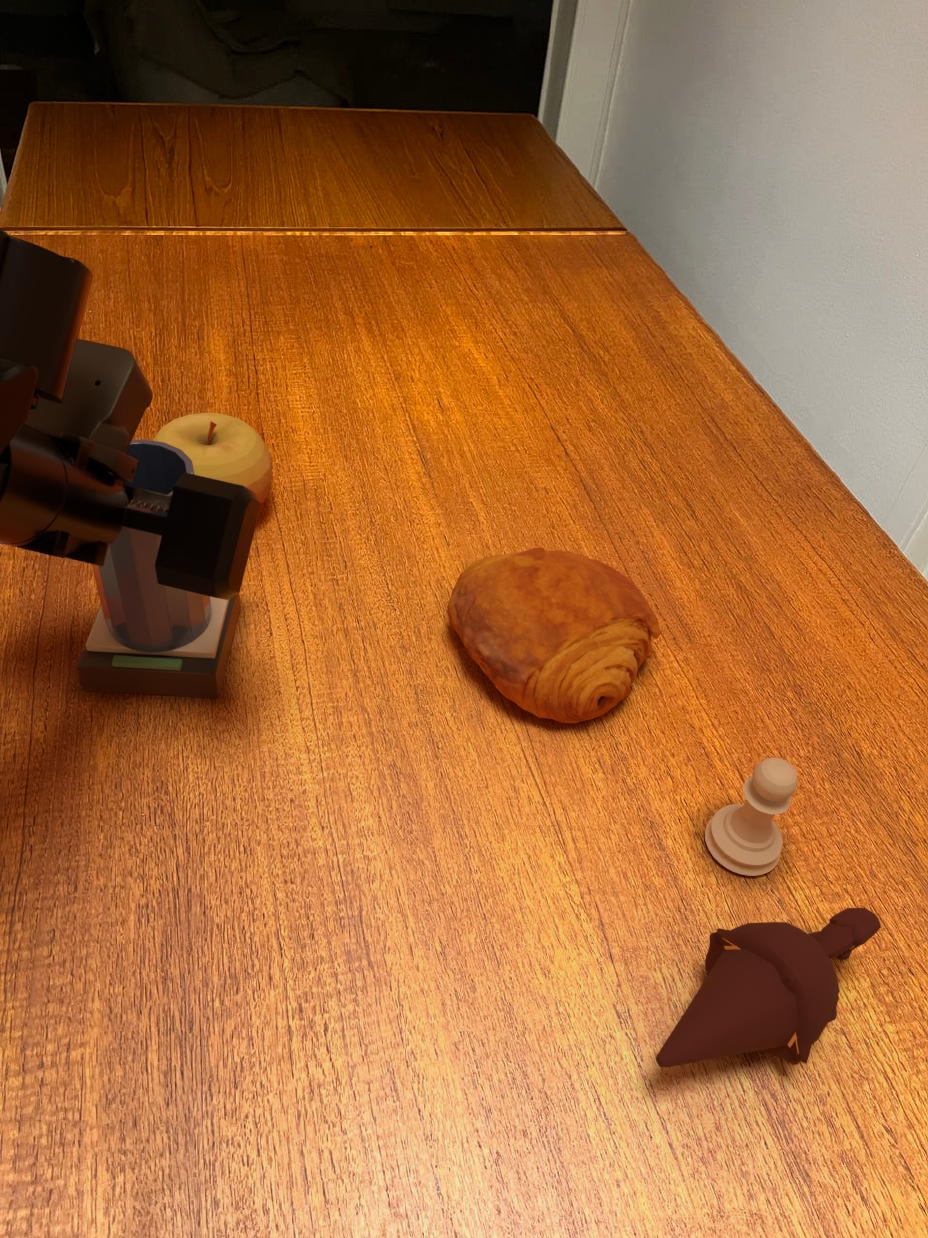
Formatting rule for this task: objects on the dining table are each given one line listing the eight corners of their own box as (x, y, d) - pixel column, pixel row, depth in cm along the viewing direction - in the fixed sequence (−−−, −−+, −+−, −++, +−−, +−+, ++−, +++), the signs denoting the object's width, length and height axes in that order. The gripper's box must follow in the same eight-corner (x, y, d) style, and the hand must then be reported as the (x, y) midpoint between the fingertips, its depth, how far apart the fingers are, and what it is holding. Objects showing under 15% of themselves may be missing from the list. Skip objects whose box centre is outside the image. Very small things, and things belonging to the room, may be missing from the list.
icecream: (743, 1127, 42) (939, 972, 50) (647, 971, 45) (847, 847, 53) (670, 1149, 48) (857, 1007, 55) (589, 1009, 51) (777, 891, 58)
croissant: (506, 770, 66) (527, 706, 60) (417, 600, 74) (427, 528, 68) (682, 708, 71) (718, 644, 65) (581, 555, 79) (604, 485, 73)
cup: (165, 667, 63) (139, 522, 55) (84, 626, 65) (46, 480, 57) (232, 606, 68) (217, 464, 59) (154, 570, 70) (129, 427, 61)
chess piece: (777, 887, 59) (823, 811, 53) (700, 866, 59) (737, 788, 54) (780, 825, 62) (823, 747, 57) (706, 805, 63) (742, 725, 57)
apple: (287, 481, 83) (283, 400, 78) (259, 553, 76) (253, 470, 71) (174, 466, 84) (162, 384, 78) (135, 537, 77) (120, 452, 71)
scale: (82, 691, 65) (74, 660, 63) (117, 599, 71) (110, 568, 69) (218, 698, 66) (214, 668, 63) (240, 607, 72) (237, 577, 70)
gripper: (233, 360, 45) (318, 437, 61) (-125, 284, 48) (46, 377, 63) (177, 591, 45) (277, 609, 61) (-180, 505, 47) (4, 544, 63)
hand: (150, 529), depth 62 cm, fingers open, 9 cm apart
